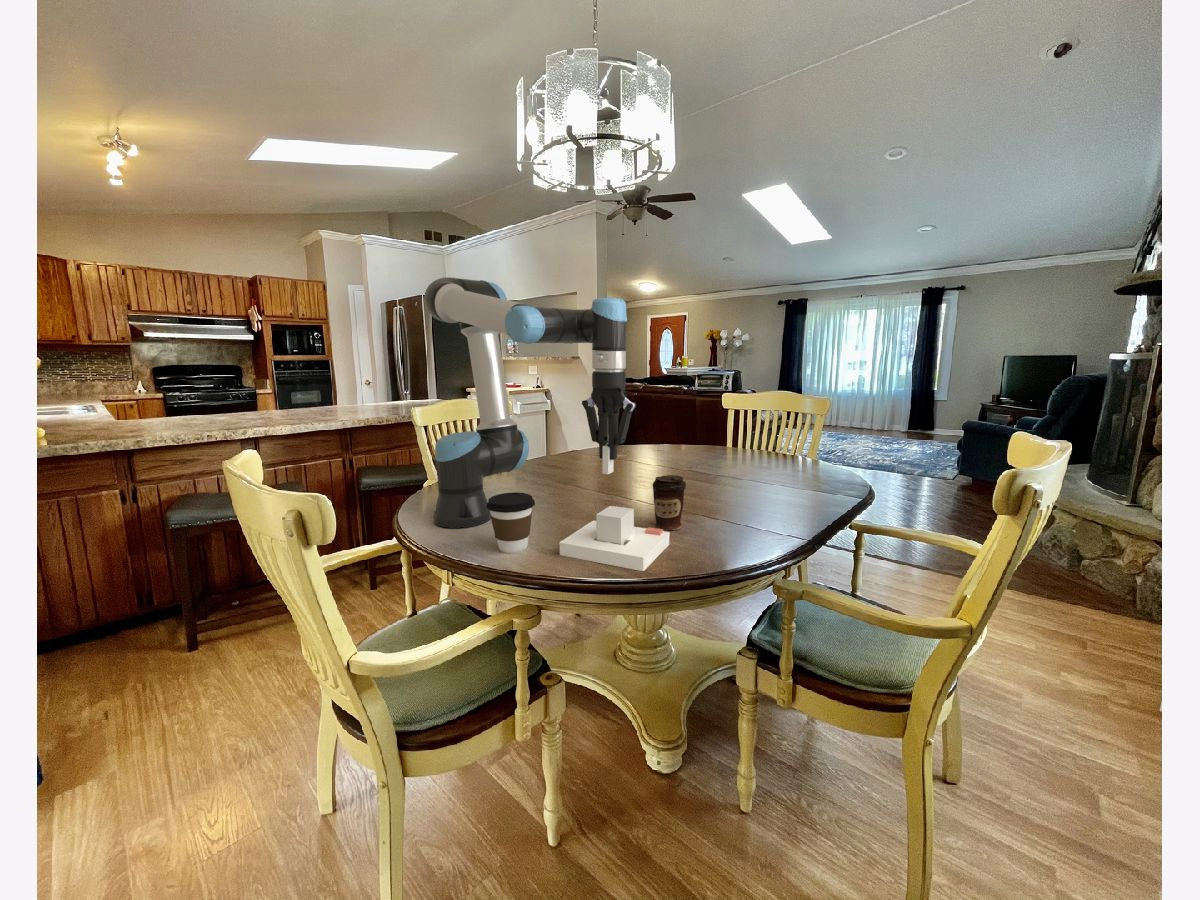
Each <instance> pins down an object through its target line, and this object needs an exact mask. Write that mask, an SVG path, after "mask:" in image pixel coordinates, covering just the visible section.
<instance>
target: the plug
mask: <svg viewBox="0 0 1200 900" xmlns="http://www.w3.org/2000/svg"><path fill="white" fill-rule="evenodd" d="M634 510H635V509H634V508H631V507H630V508H628V507H623V506H617V505H615V506H614V505H609V506H607V507H605V508H604V509H602V510H601V511H600V512H598V513H596V514H595V521H596V530H597V540H598V541H601V542H610V543H616V544H619V545H624V542H625V541H626V540H627V539H628V538H630V537H631V536H632V535H633V534H634V527H635V521H634V518H635V511H634Z"/></svg>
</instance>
